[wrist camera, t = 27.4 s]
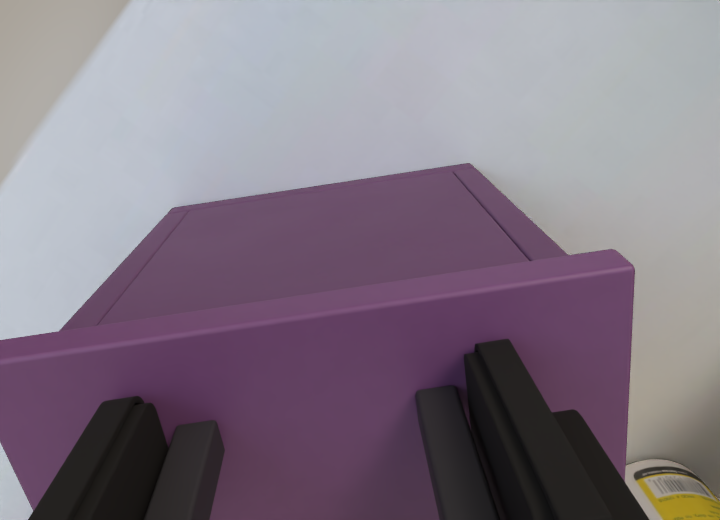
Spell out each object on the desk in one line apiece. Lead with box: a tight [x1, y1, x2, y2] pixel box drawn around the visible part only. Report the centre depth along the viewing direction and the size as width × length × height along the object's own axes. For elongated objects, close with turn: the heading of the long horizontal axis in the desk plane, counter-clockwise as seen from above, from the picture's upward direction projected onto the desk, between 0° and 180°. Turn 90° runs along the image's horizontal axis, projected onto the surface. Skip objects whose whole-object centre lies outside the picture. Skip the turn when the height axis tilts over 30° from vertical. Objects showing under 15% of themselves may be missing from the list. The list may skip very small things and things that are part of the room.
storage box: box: [60, 163, 568, 331], centre depth 18 cm, size 12×11×11 cm
